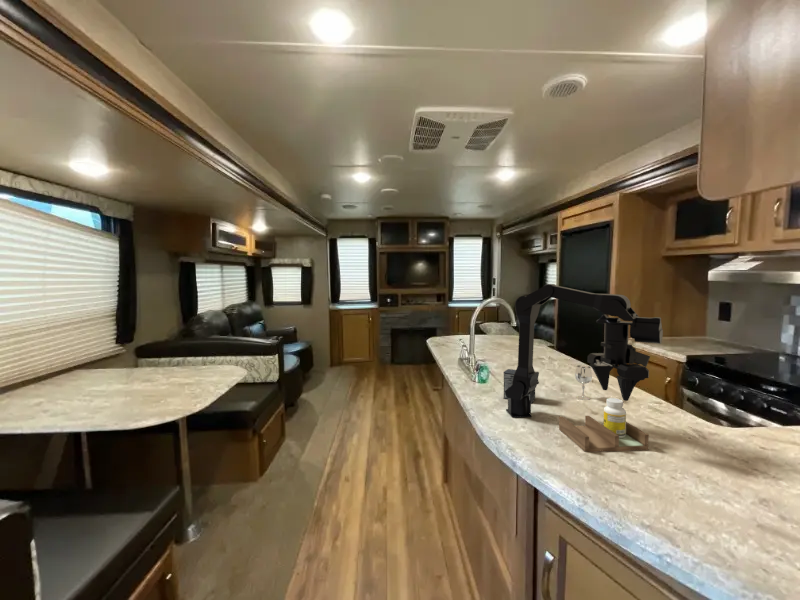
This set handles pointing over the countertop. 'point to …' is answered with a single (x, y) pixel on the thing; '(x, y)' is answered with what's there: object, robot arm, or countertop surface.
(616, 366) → the robot arm
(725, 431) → the countertop surface
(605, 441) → the slot rack
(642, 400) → the countertop surface
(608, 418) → the supplement bottle
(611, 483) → the countertop surface
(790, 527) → the countertop surface
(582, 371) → the wineglass
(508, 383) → the small box
